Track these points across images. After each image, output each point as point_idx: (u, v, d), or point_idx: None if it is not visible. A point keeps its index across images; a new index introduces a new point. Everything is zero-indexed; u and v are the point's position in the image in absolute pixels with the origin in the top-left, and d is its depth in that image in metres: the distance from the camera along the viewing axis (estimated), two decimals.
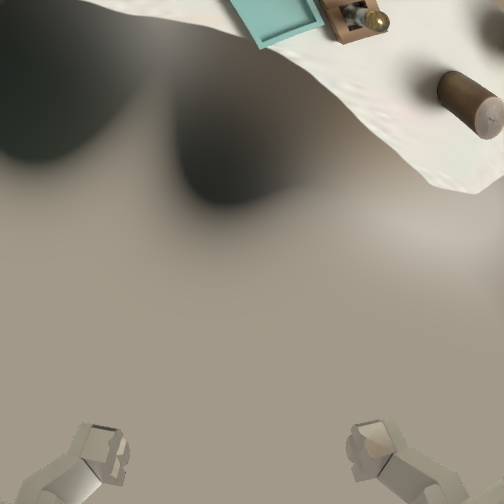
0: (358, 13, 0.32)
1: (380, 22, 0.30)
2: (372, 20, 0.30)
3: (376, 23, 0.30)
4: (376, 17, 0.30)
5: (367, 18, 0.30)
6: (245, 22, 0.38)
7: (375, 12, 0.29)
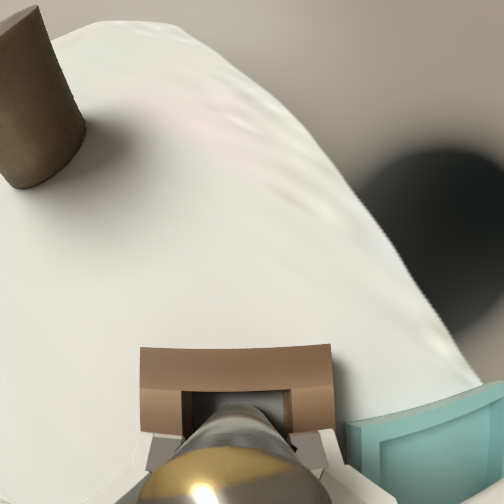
0: None
1: None
2: None
3: None
4: None
5: None
6: None
7: None
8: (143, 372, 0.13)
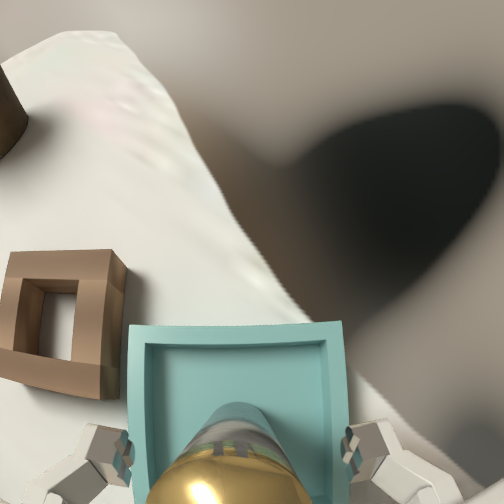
0: None
1: None
2: None
3: None
4: None
5: None
6: (344, 418, 0.14)
7: None
8: (8, 267, 0.16)
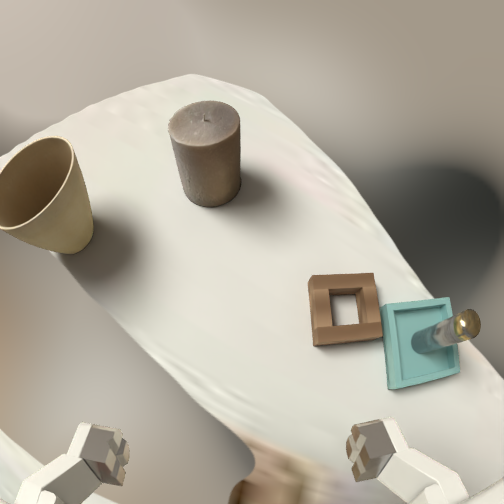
0: None
1: (469, 322, 0.27)
2: (476, 325, 0.27)
3: (473, 321, 0.27)
4: (472, 329, 0.27)
5: (478, 329, 0.27)
6: None
7: (473, 335, 0.27)
8: (314, 283, 0.39)
